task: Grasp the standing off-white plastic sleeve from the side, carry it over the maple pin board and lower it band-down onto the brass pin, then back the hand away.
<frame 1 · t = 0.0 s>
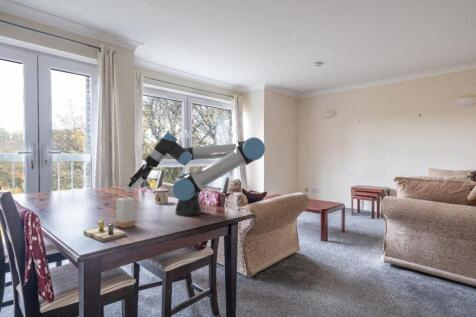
hand: (130, 189, 146), 15 cm above the table, tool tilted 35°, fingers open, 13 cm apart
wooden birdhouse: (162, 203, 188), on the table
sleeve: (125, 225, 132), on the table
pin board: (104, 235, 117), on the table
steel pin: (110, 237, 114), resting on pin board
brass pin: (101, 233, 119), resting on pin board
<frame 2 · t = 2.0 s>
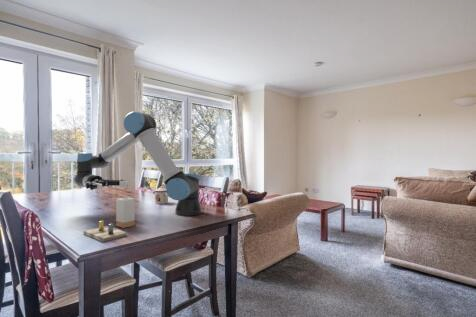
hand: (114, 185, 137), 18 cm above the table, tool horizontal, fingers open, 13 cm apart
nothing on the table moved.
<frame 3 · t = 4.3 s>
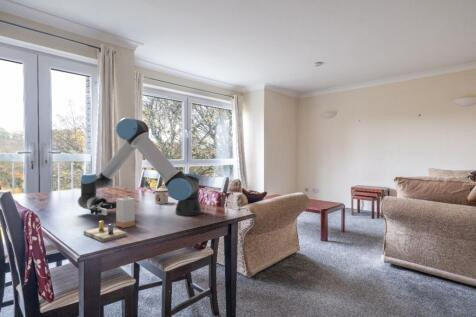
hand: (119, 209, 134), 7 cm above the table, tool horizontal, fingers open, 13 cm apart
nothing on the table moved.
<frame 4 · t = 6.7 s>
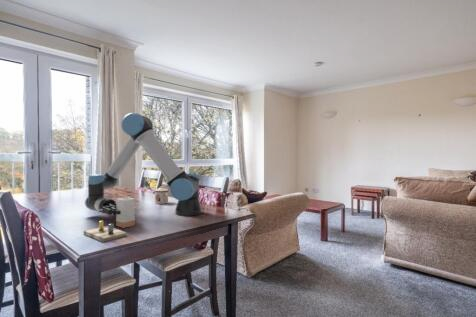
hand: (131, 212, 129), 7 cm above the table, tool horizontal, fingers closed on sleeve, 6 cm apart
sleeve: (125, 225, 132), on the table, touching gripper
everything else where it was.
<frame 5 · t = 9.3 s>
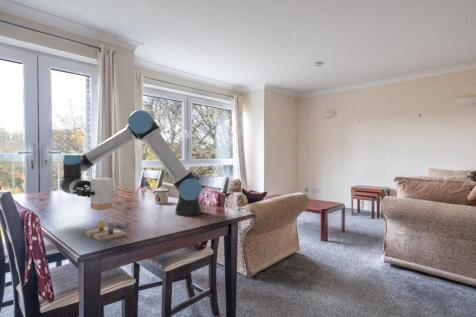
hand: (107, 193, 116), 18 cm above the table, tool horizontal, fingers closed on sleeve, 6 cm apart
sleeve: (101, 208, 119), point 11 cm above the table, touching gripper
everything else where it was.
when the fingers open (10 cm above the table, at t = 12.1 s): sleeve stays where it is, resting on pin board.
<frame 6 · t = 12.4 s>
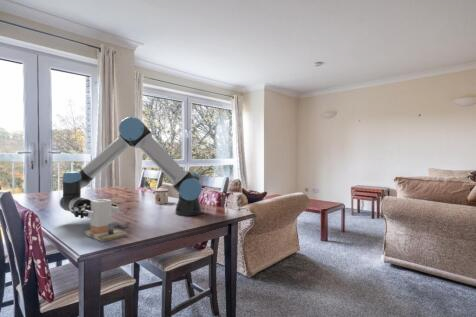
hand: (106, 213, 116), 10 cm above the table, tool horizontal, fingers open, 10 cm apart
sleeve: (101, 230, 119), point 1 cm above the table, touching pin board
everything else where it was.
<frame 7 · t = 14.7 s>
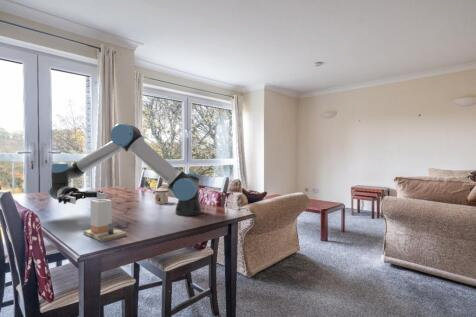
hand: (90, 198, 126), 14 cm above the table, tool horizontal, fingers open, 13 cm apart
nothing on the table moved.
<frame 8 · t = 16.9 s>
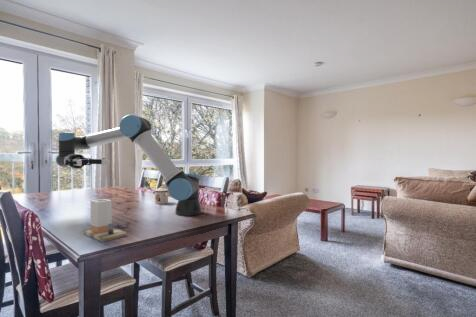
hand: (95, 162, 133), 30 cm above the table, tool horizontal, fingers open, 13 cm apart
nothing on the table moved.
at the end: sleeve 0.1 cm from the brass pin (horizontally); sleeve point 1.5 cm above the table; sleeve tilted 0° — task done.
